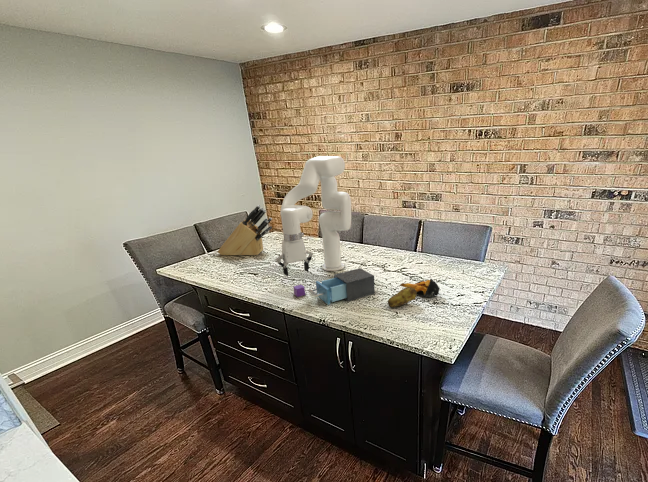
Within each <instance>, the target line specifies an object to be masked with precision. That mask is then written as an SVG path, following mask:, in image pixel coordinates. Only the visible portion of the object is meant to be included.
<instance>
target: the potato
mask: <svg viewBox="0 0 648 482" xmlns="http://www.w3.org/2000/svg"><path fill="white" fill-rule="evenodd" d="M416 294H417V292H416V290H415V289H414V288H412V287H403V288H402V289H401V290H400V291H398V292H397V293H396V294H394V295H392V296H391V297H390V298H388V300H387V305H388V306H389V307H390V308H396V307H402V306H404V305H407V304H409V303H410V302H413V301H415V300H416V298H417V295H416Z"/></svg>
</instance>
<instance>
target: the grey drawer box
mask: <svg viewBox="0 0 648 482" xmlns="http://www.w3.org/2000/svg"><path fill="white" fill-rule="evenodd" d="M333 278H337V279H339V280H341V281H342V282H344V283H345V284H346V293H347V298H344V299H343V300H345V301H346V302H350V301H354V300H357V299H361V298H363V297H367V296H370V295H374V294H375V292H376V291H375V275H374V274H373V273H370V272H368V271H367V270H365V269H363V268H360V267H359V268H355V269H351V270H346V271H343V272H339V273H334V274H333Z"/></svg>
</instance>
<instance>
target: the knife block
mask: <svg viewBox="0 0 648 482" xmlns="http://www.w3.org/2000/svg"><path fill="white" fill-rule="evenodd" d="M266 213H267V210H266V209H264V207H261V205H260V204H257V205H256V206H255V208H254V209H253V210H251V211H250V212H249V214H248V215H247V216H246V218H245V219H244V220H243V221H241V222H240V223H239V224H238V225H237V226H236V227H235V228H234V230H233V231H232V233H231V234H230V235H229V236H228V238H227V239H226V240H225V241H224V242H223V243H222V245H221V246H220V247H219V249H218V250H217V253H218V254H219V255H220V256H259V254H261V252H263V251H264V243H263V237H264V236H265V235H267V233H268V232H270V231H271V230H272V229H273V226H272V225H271V226H268V225H269V223H270V222H272V220H273V218H272V217H269V218H265V219H263V221H262V222H261V223H260V224H259V226H258V225H257V223H258V222H259V221H260V220H261V219H262V218H263V217H264V215H265V214H266ZM267 226H268V227H267ZM265 228H266V229H265ZM264 229H265V230H264Z"/></svg>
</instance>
